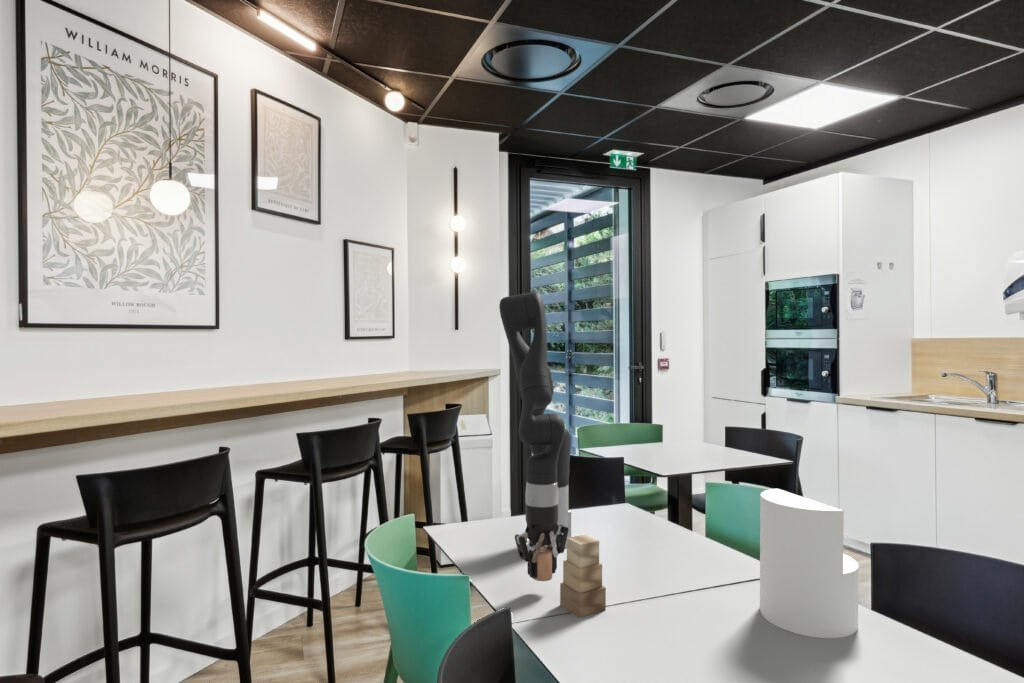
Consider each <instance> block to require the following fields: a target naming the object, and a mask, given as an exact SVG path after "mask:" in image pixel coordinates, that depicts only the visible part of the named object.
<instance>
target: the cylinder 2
mask: <svg viewBox="0 0 1024 683" xmlns="http://www.w3.org/2000/svg"><path fill="white" fill-rule="evenodd" d="M759 495H760V502H759V504H760V508H759V510H760V511H759V512H760V516H759V517H760V520H759V523H760V525H759V531H760V532H759V534H760V536H759V537H760V539H759V543H760V544H759V611H760V615H761V616H762V617H763V618H764V619H765V620H766V621H768V622H769V623H771V624H773V625H774V626H776V627H778V628H780V629H782V630H785V631H788V632H791V633H795V634H798V635H802V636H807V637H812V638H818V639H819V638H822V639H839V638H846V637H849V636H852V635H855V633H856V632H857V631H858V630H859V563H858V561H856V560H855V559H854V558H852V557H851V556H850V555H847V554H845V553H844V525H845V524H844V522H845V521H844V520H845V519H844V518H845V517H844V513H845V511H844V509H841V508H837V507H835V506H832V505H828V504H826V503H822V502H821V501H820V502H819V501H817V500H814V499H811V498H808V497H805V496H803V495H798V494H795V493H792V492H791V491H790V492H789V491H787V490H784V489H781V488H769V489H766V490H765V489H764V490H763V491H762V492H760V494H759Z"/></svg>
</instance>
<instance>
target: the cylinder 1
mask: <svg viewBox="0 0 1024 683" xmlns="http://www.w3.org/2000/svg"><path fill="white" fill-rule="evenodd" d="M536 562H537V578H535V579H533V580H534V581H537V582H547V581H548V582H549V581H551V580H552V579H553V574H552V551H551V549H547V548H541V549H540V552H539V553H538V556H537V560H536Z"/></svg>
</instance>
